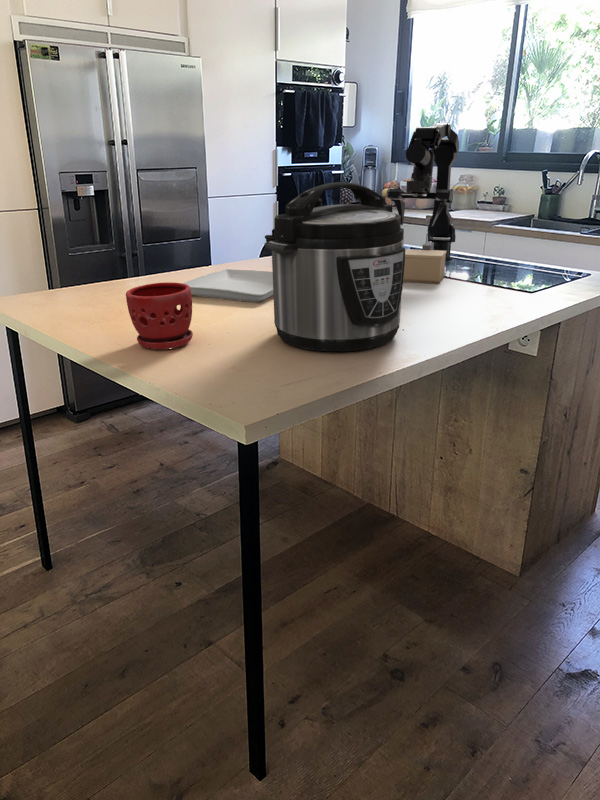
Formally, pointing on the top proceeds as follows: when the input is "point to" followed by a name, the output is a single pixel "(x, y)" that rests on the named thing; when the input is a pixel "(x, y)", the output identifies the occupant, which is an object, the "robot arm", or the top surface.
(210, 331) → the top surface
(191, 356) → the top surface
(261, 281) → the square plate
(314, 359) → the top surface
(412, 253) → the lid
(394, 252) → the pressure cooker
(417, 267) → the carton
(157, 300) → the plant pot
